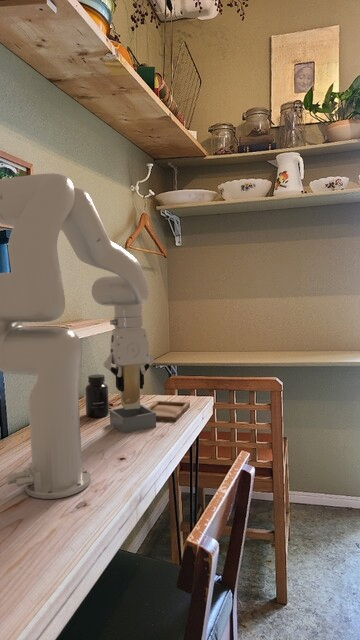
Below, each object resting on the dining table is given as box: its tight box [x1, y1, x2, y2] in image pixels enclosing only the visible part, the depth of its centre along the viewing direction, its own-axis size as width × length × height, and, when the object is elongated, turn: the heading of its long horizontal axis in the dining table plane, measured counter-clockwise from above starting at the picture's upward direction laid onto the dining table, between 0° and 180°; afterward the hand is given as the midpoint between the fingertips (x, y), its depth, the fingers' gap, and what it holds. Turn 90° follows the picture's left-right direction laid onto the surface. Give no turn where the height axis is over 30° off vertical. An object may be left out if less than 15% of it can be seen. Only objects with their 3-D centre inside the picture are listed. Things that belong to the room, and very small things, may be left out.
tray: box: [140, 400, 191, 423], centre depth 134 cm, size 15×11×1 cm
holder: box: [109, 404, 157, 434], centre depth 123 cm, size 10×10×4 cm
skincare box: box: [120, 364, 141, 410], centre depth 121 cm, size 6×4×12 cm
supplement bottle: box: [84, 374, 110, 419], centre depth 133 cm, size 7×7×12 cm
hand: (130, 388), depth 121 cm, fingers closed on skincare box, 5 cm apart
